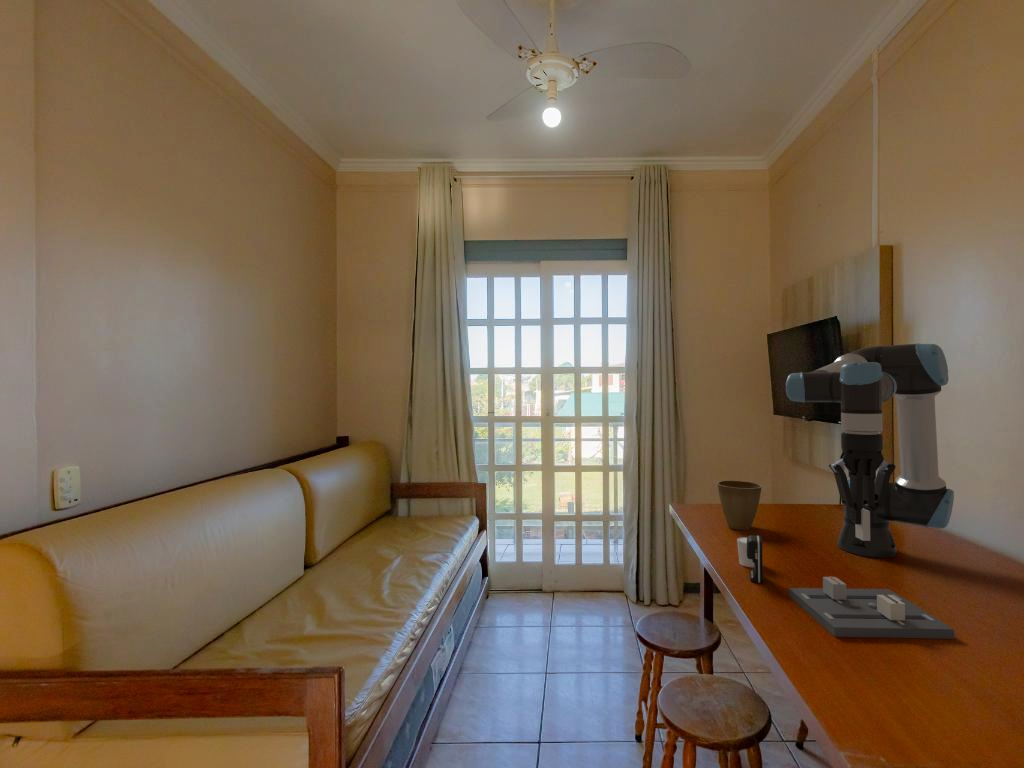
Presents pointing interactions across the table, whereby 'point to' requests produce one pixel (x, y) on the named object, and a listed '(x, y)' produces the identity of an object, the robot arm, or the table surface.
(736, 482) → the plant pot
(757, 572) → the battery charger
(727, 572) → the table surface
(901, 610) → the cream fader
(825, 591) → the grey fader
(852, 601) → the console
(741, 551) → the grey rimmed cylinder
